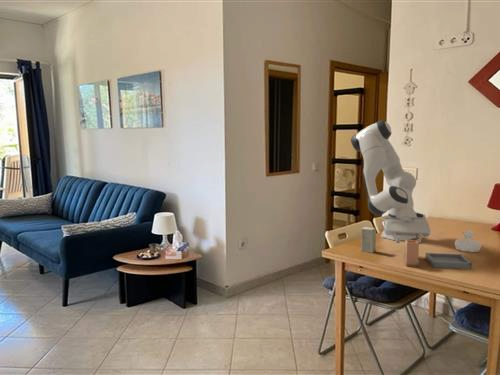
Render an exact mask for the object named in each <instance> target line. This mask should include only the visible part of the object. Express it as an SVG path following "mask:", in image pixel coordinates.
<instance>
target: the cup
mask: <svg viewBox="0 0 500 375" xmlns="http://www.w3.org/2000/svg"><path fill="white" fill-rule="evenodd" d="M419 247H420V244H419V243H418V242H417V240H415V239H411V240H405V241H404V256H403V257H404V258H403V263H404V265H405V266H406V267H414V268H419V249H420V248H419Z"/></svg>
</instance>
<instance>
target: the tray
mask: <svg viewBox="0 0 500 375" xmlns="http://www.w3.org/2000/svg"><path fill="white" fill-rule="evenodd" d="M424 257H425V259H426V261H427V262H428V263H429V265H431V267H432V268H444V269H466V270H469V269H470V270H472V265H473V263H472V262H471V261H470V260H469V259H467V258H466V257H465V256H464V255H463V254H461V253H439V252H438V253H436V252H433V253H432V252H425V256H424Z"/></svg>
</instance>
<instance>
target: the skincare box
mask: <svg viewBox="0 0 500 375" xmlns="http://www.w3.org/2000/svg"><path fill="white" fill-rule="evenodd" d="M360 232H361V234H360V239H361V241H360V246H361V249H360V251H361V252H365V253H371V254H372V253H375V252H376V251H377V250H376V248H377V247H376V244H377V242H376V239H377V236H376V233H377V232H376V227H369V226H363V227H361V228H360Z"/></svg>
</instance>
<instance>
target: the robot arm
mask: <svg viewBox="0 0 500 375" xmlns="http://www.w3.org/2000/svg"><path fill="white" fill-rule="evenodd" d="M392 133H393V132H392V127H391V125H390V124H389V123H388V122H387V121H386V120H382V119H381V120H378V121H376V122H375V123H372V124H370V125H368V126H366V127H365V128H363V129H361V130H360V131H359V132H357V133H355V134H354V135H353V136H351V138H350V143H351V146H352V148H353V150H355V152H359V153H361V155H362V158H363V168H362V178H363V183H364V188H365V191H366V192H365V193H366V197H367V208H368V210H369V211H370V212H371V213H372V214H374V215H376V216H382V215H384V214H386V213H387V212H388V215H387V217H385V218H384V219H383V220H382V221H383V231H382V233H381V238H382V239H388V240H391V241H392V240H393V241H395V243H396V244H400V242H401V241H403V242H405V240H415V239H417V242H418V243H419V245H421V244H422V239H423V237H426V238H427V237H429V236H430V235H431V227H430V224H429V222H428V220H426V214H423V213H421V212H417V211H415V209H414V199H413V195H412V194H413V191H414V189H415V188H416V184H417V180H416V177H415V176H414V175H413V174H412V173H411V172H409V171H405V170H404V169H403V166H402V163H401V160H400V159H401V158H400V157H399V155H398V153H397V152H396V149H395V148H394V146H393V145H392V143H391V142H390V141H389V139H390V137H391V135H392ZM381 170H382V172H383V175H384V178H385V181H386V183H387V185H388V186H389V187H387V188H385V189H384V190H382V191H380V192H378V187H377V184H376V178H377V176H378V174H379V172H380V171H381ZM417 237H418V238H417Z"/></svg>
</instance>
